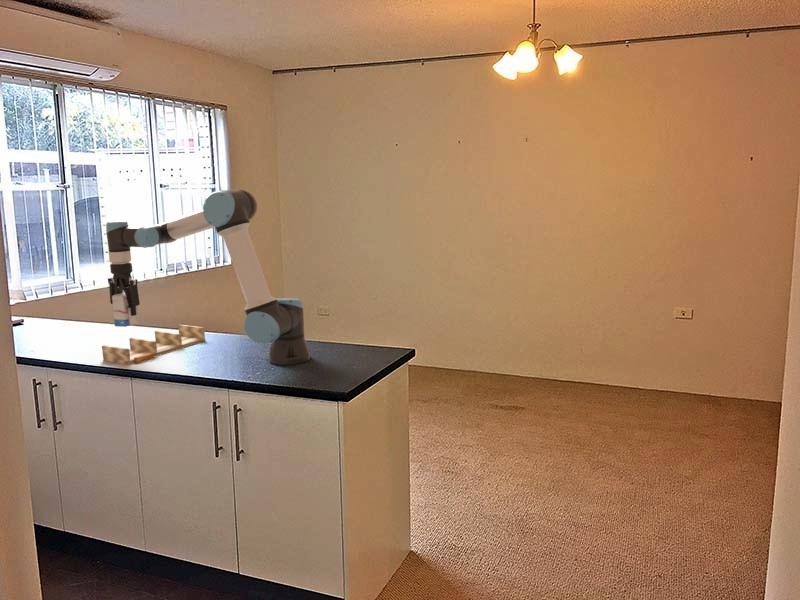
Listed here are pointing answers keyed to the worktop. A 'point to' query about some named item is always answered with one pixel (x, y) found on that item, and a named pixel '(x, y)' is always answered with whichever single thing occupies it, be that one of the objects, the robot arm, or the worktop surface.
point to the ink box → (122, 310)
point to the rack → (154, 345)
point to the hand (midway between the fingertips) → (126, 323)
